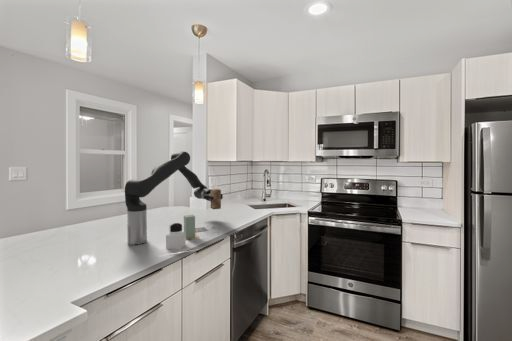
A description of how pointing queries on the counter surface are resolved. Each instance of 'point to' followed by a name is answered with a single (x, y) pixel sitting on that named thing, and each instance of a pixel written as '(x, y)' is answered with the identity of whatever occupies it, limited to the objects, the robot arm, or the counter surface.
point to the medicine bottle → (175, 237)
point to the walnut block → (216, 199)
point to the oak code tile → (193, 238)
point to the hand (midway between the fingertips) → (217, 198)
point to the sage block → (189, 226)
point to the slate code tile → (200, 229)
